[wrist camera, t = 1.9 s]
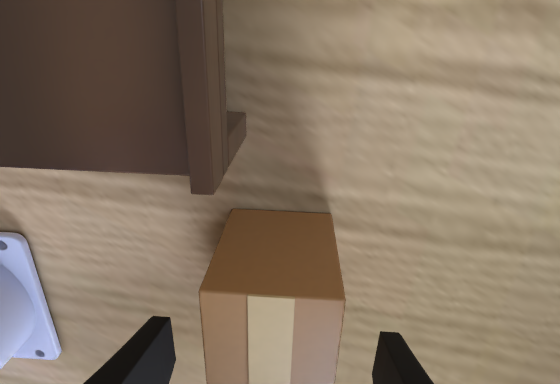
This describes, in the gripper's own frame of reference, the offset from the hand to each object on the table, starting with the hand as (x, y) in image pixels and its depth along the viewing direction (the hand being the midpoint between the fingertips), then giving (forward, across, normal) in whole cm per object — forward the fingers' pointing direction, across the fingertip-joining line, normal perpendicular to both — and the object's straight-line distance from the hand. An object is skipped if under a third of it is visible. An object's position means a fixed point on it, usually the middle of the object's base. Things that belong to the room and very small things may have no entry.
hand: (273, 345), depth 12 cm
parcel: (+5, 0, 0) cm, 5 cm away
